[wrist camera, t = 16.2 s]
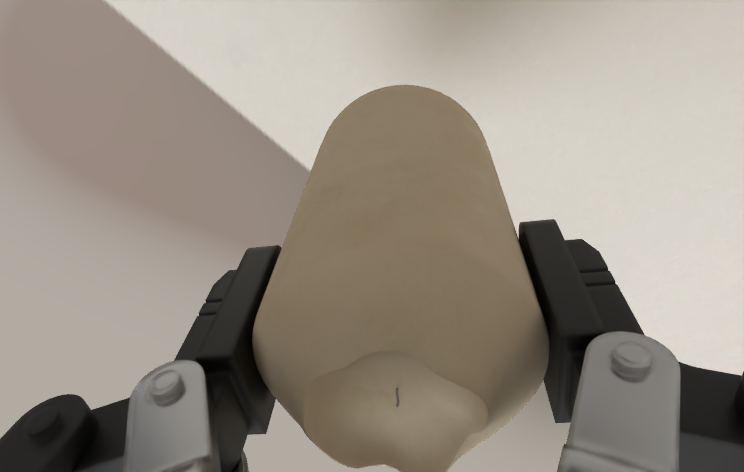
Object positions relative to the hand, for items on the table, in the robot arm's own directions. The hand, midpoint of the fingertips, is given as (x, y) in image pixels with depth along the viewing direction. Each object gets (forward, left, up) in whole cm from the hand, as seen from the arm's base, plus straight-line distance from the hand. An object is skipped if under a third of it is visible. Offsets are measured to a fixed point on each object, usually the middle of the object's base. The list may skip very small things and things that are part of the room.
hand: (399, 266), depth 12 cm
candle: (0, 0, -6) cm, 6 cm away
